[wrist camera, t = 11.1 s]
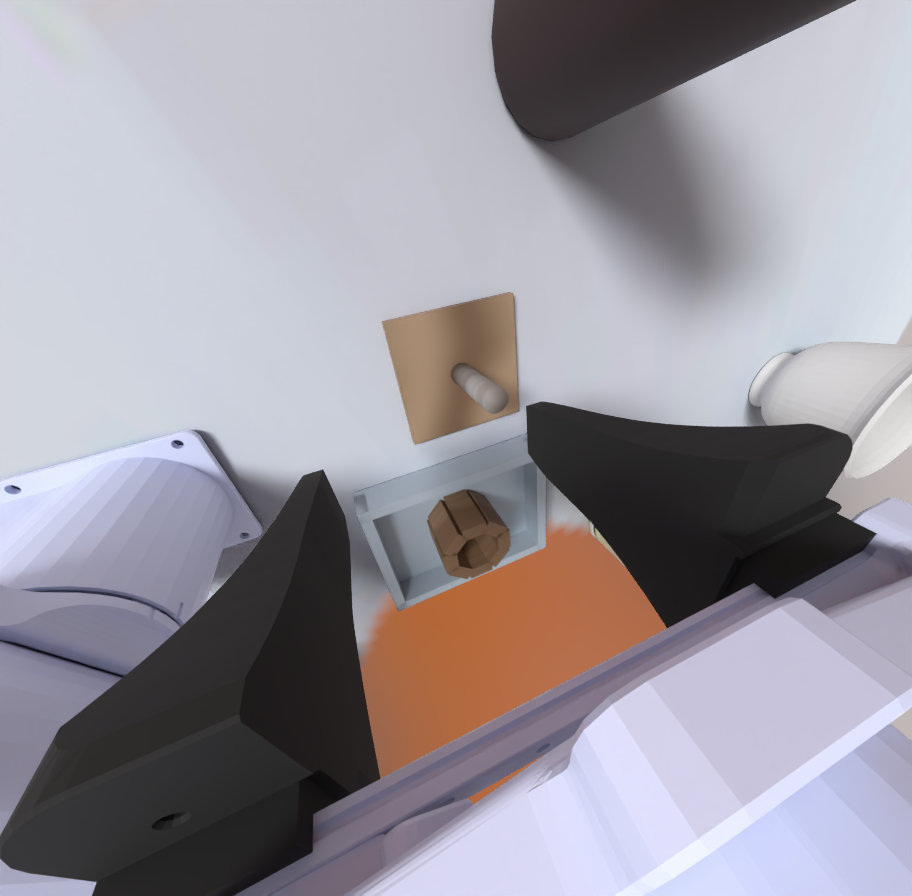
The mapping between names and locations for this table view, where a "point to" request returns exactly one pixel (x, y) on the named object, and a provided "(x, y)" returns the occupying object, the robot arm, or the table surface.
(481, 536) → the collar
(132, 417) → the table surface
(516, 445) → the tray
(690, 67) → the vinegar
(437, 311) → the post stand
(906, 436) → the teacup
